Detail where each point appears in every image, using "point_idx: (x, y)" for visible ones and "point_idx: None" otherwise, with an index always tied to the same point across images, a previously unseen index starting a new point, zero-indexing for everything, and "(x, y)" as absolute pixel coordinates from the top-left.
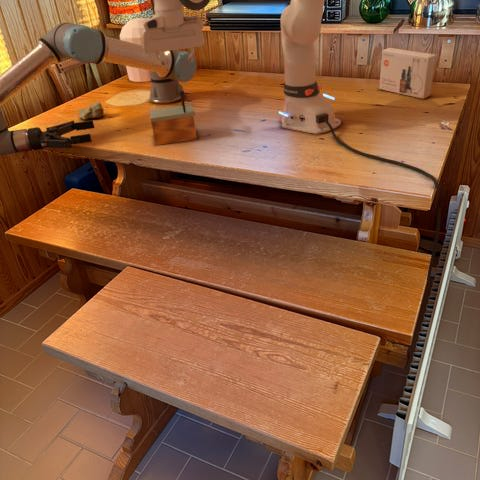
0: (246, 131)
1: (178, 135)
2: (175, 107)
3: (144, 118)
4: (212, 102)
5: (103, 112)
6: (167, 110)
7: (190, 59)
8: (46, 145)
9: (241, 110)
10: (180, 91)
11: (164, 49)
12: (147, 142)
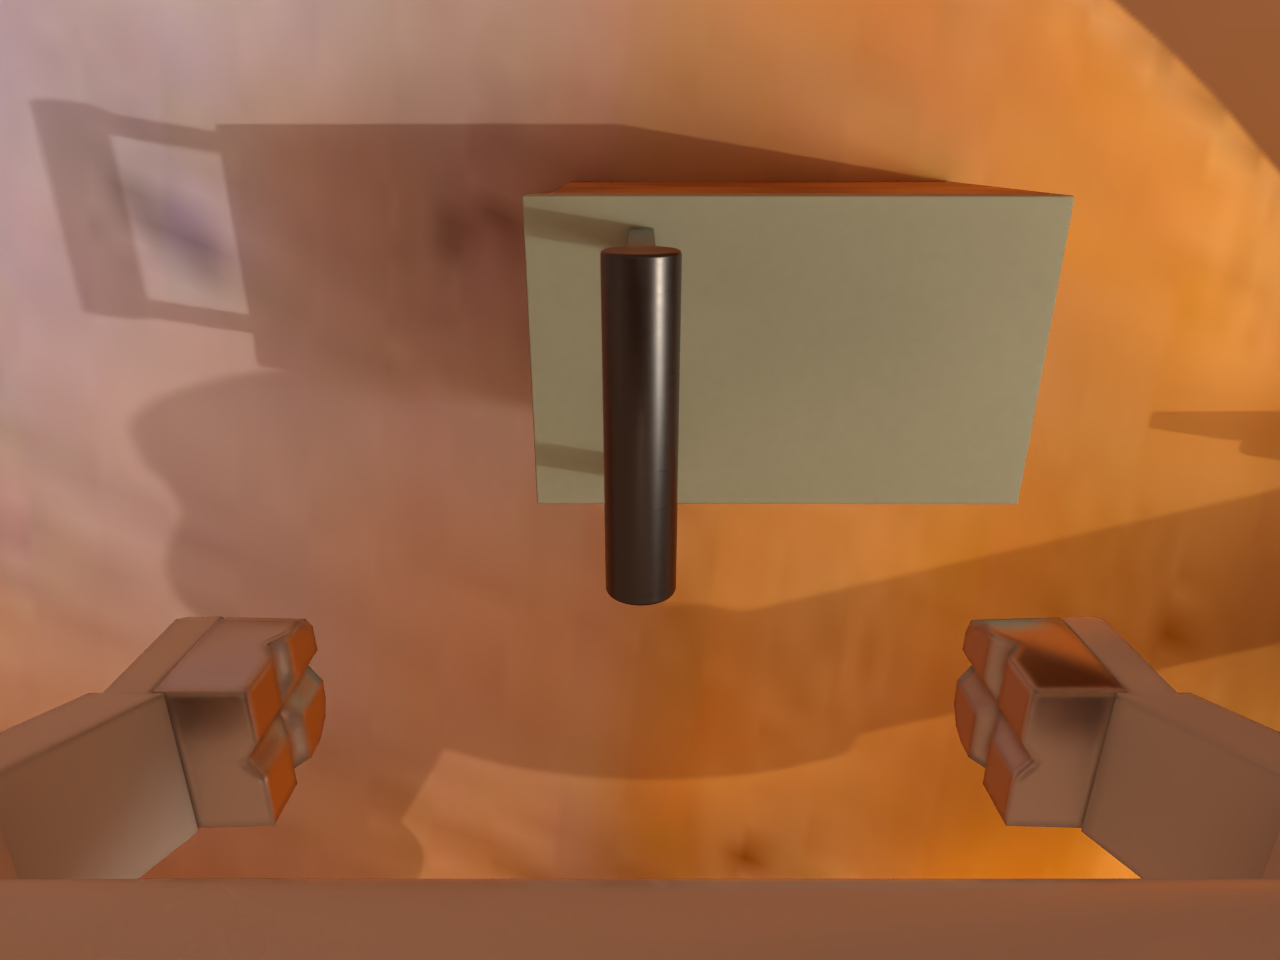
0: (101, 185)
1: (738, 184)
2: (729, 462)
3: (934, 797)
4: None
5: None
6: (831, 397)
7: (219, 645)
8: None
9: None
10: (661, 256)
11: (1217, 931)
12: None
